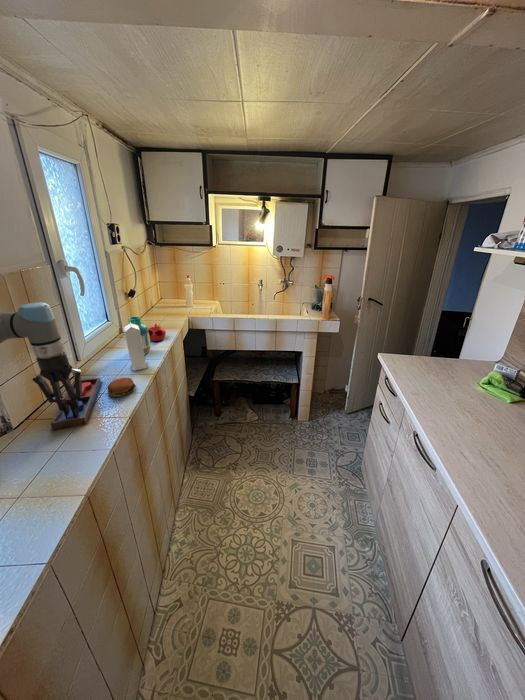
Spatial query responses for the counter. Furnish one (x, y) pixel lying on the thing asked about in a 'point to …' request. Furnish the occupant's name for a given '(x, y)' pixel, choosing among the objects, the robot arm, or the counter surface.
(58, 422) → the tray
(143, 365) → the milk
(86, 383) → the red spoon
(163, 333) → the pomegranate
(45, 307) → the robot arm
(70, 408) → the blue spoon
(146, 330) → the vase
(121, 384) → the burger
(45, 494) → the counter surface
